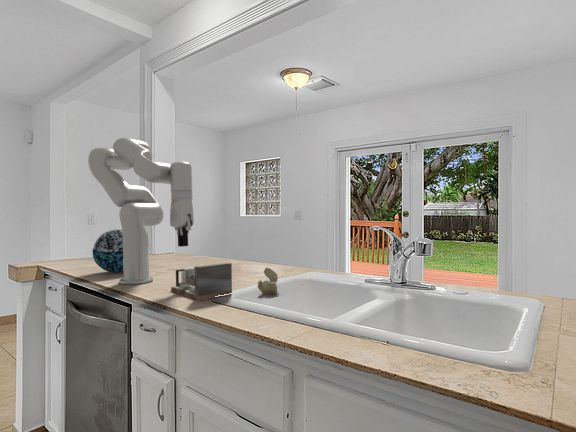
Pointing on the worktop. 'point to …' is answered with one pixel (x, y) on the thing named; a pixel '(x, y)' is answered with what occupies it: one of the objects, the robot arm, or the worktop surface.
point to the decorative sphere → (109, 251)
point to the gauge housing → (208, 282)
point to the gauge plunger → (186, 276)
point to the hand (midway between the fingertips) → (183, 246)
